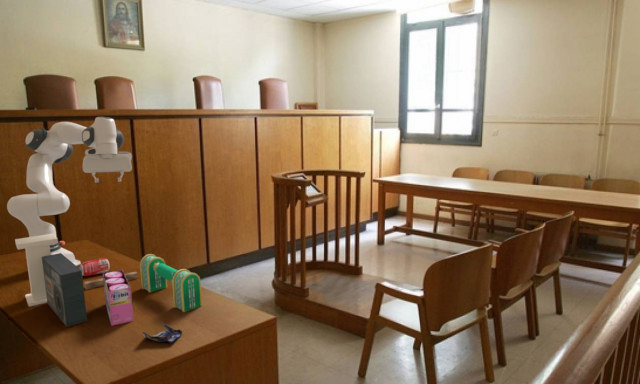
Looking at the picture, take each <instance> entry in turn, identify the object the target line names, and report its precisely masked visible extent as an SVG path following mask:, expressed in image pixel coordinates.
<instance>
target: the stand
mask: <svg viewBox="0 0 640 384" xmlns="http://www.w3.org/2000/svg"><path fill="white" fill-rule="evenodd" d="M14 241H15V246H16V249H17V250H18V251H19V250H23V249H24V250H25V251H24V252H25V258H26V265H27V271H28V279H29V285H30V293H27V294H25V295H24V296H25V299H26V302H27V306H28V307H33V306H39V305H43V304H48V303H47V295H46V287H45V279H44V271H43V263H42V257H43V256H48V255H51V253H50V245H49V244H56V243H58V241H59V240H58V237H57V235H56V236H55V234H47V235H40V236H34V237H29V236H28V237H21V238H14Z"/></svg>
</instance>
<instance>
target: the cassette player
mask: <svg viewBox="0 0 640 384" xmlns="http://www.w3.org/2000/svg"><path fill="white" fill-rule="evenodd" d="M42 263H43V271H44V279H45V287H46V295H47V303H46V304H48V306H49V307H50V309H52V311H53V312H54V313H55V315H56V316H57V317H58V318H59V319H60V321H61V322H62V324H64V326H65V327H66V328H69V327H71V326H76V325H78V324H81V323H85V322H87V321H88V316H87V315H88V314H87V307H86V298H85V290H84V289H85V287H84V280H83V276H82V270H80V267H78V265H77V266H76V265H74V264H73V263H72V262H71V261H70V260H69V259H67V258H66V257H65V256H64V255H63V254H61V253H59V254H53V255H48V256H43V257H42Z"/></svg>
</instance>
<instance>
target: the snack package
mask: <svg viewBox="0 0 640 384" xmlns="http://www.w3.org/2000/svg"><path fill="white" fill-rule="evenodd" d="M161 324H162V326H163V327H164V329H166V330H163V331H161V332H158V333H157V334H154V335H149V333H146V332H144V331H143V332H142V336H143V337H144V338H145V339H146V340H147V339H149V340H153V341H155V342H158V343H165V342H167V343H170V344H173V343H174V341H175V340H178V339H179V338H180V337H181V336H182V333H183V331H182V330H181V329H174V328H173V327H172V326H170V325H169V324H166V323H164V322H161ZM166 338H167V339H166Z"/></svg>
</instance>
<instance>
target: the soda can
mask: <svg viewBox="0 0 640 384" xmlns="http://www.w3.org/2000/svg"><path fill="white" fill-rule="evenodd" d="M110 268H111V266H110V262H109V260H108V259H107V258H106V257H104V258H98V259H97V258H96V259H92V260H88V261H84V262H82V263H81V264H79V269H80V270H82V277H83V276H84V277H90V276H95V275H100V274H103V273H104V272H106V273H109V270H110Z"/></svg>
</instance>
